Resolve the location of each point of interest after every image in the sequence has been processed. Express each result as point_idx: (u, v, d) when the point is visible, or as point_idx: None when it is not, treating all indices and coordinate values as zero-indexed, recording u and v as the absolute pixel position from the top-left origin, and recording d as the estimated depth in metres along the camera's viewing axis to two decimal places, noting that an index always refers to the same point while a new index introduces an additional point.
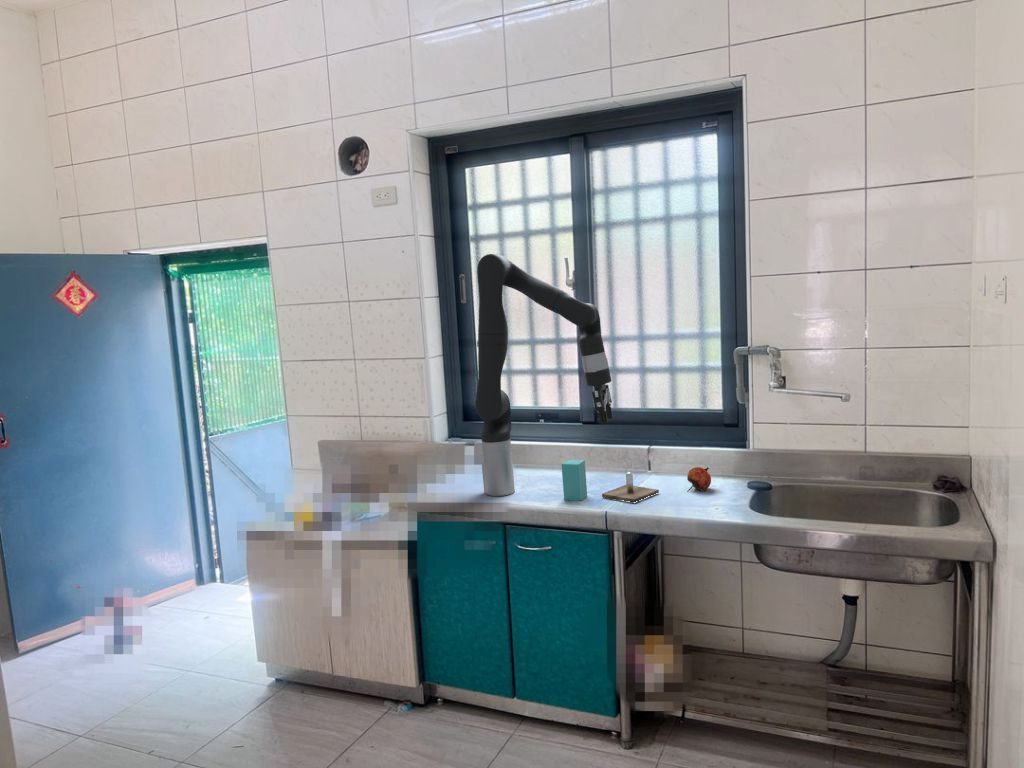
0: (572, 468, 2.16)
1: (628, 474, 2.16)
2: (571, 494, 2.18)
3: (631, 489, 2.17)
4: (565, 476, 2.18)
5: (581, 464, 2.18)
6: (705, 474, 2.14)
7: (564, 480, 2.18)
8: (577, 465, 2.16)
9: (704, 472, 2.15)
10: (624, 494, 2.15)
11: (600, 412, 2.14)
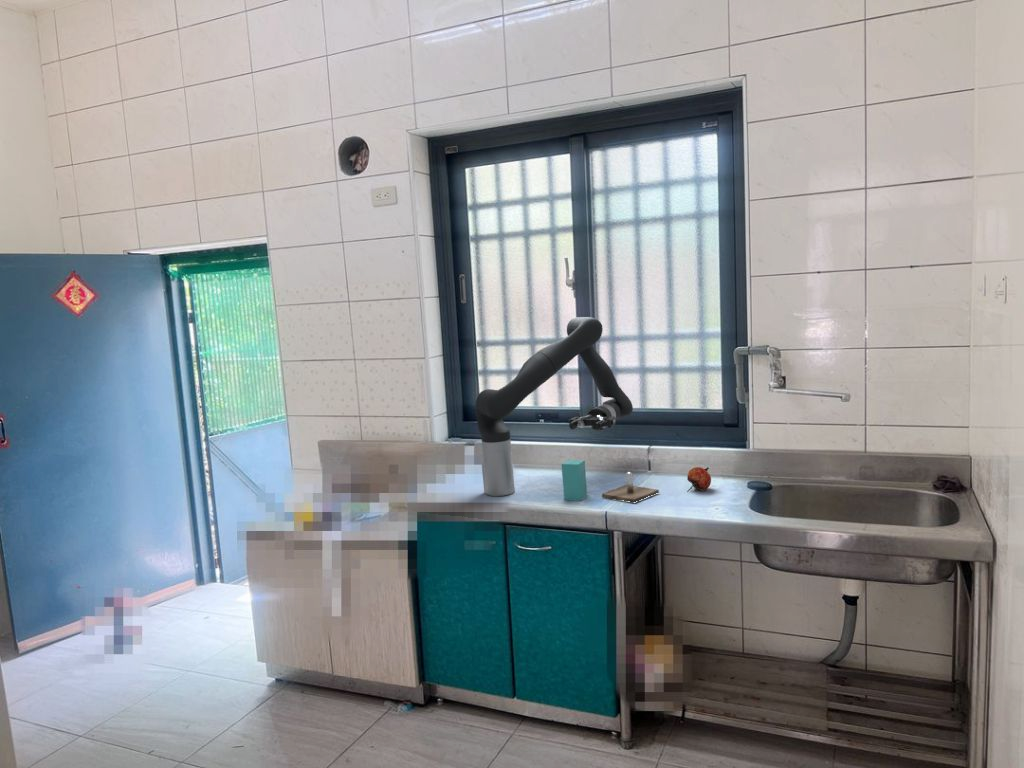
0: (572, 468, 2.16)
1: (628, 474, 2.16)
2: (571, 494, 2.18)
3: (631, 489, 2.17)
4: (565, 476, 2.18)
5: (581, 464, 2.18)
6: (705, 474, 2.14)
7: (564, 480, 2.18)
8: (577, 465, 2.16)
9: (704, 472, 2.15)
10: (624, 494, 2.15)
11: (604, 423, 2.29)
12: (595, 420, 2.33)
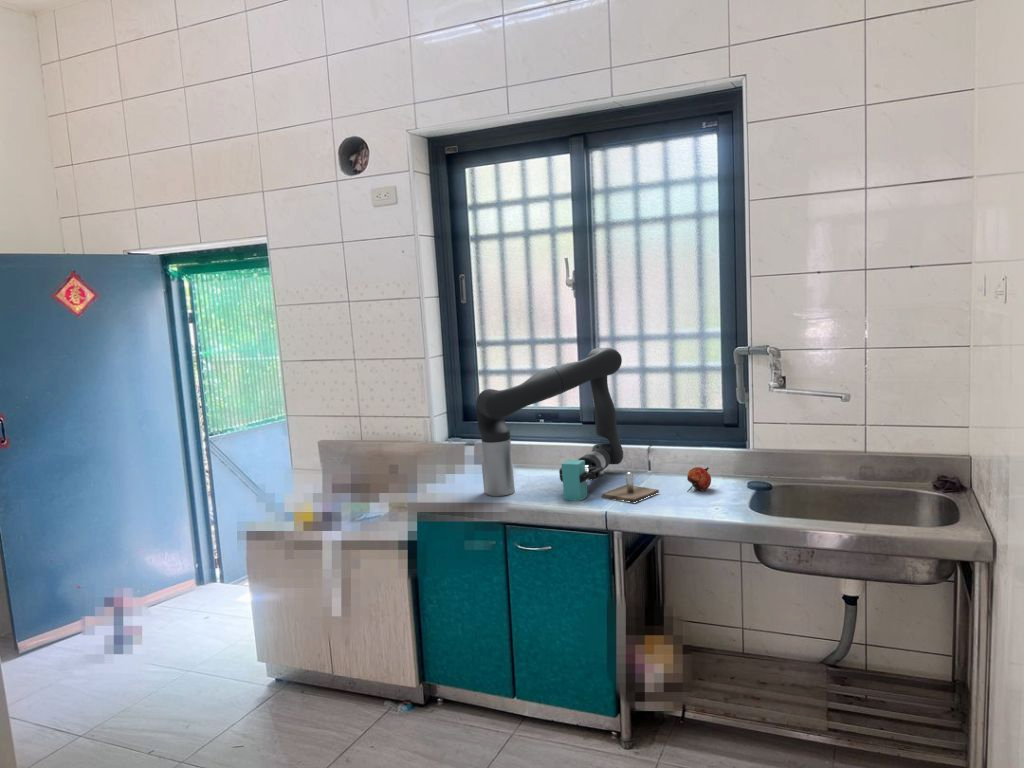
0: (572, 468, 2.16)
1: (628, 474, 2.16)
2: (571, 494, 2.18)
3: (631, 489, 2.17)
4: (565, 476, 2.18)
5: (581, 464, 2.18)
6: (705, 474, 2.14)
7: (564, 480, 2.18)
8: (577, 465, 2.16)
9: (704, 472, 2.15)
10: (624, 494, 2.15)
11: (588, 475, 2.19)
12: None
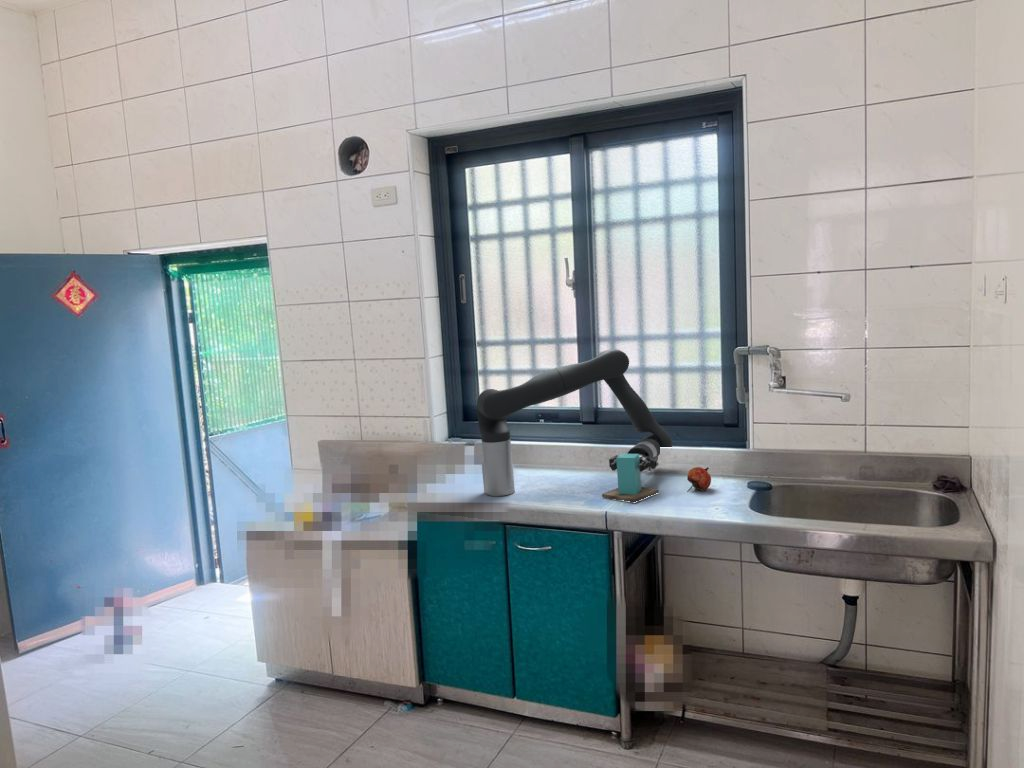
0: (627, 461, 2.14)
1: None
2: (626, 489, 2.15)
3: None
4: (620, 470, 2.15)
5: (636, 458, 2.15)
6: (705, 474, 2.14)
7: (619, 474, 2.15)
8: (633, 459, 2.13)
9: (704, 472, 2.15)
10: (624, 494, 2.15)
11: (647, 464, 2.16)
12: None
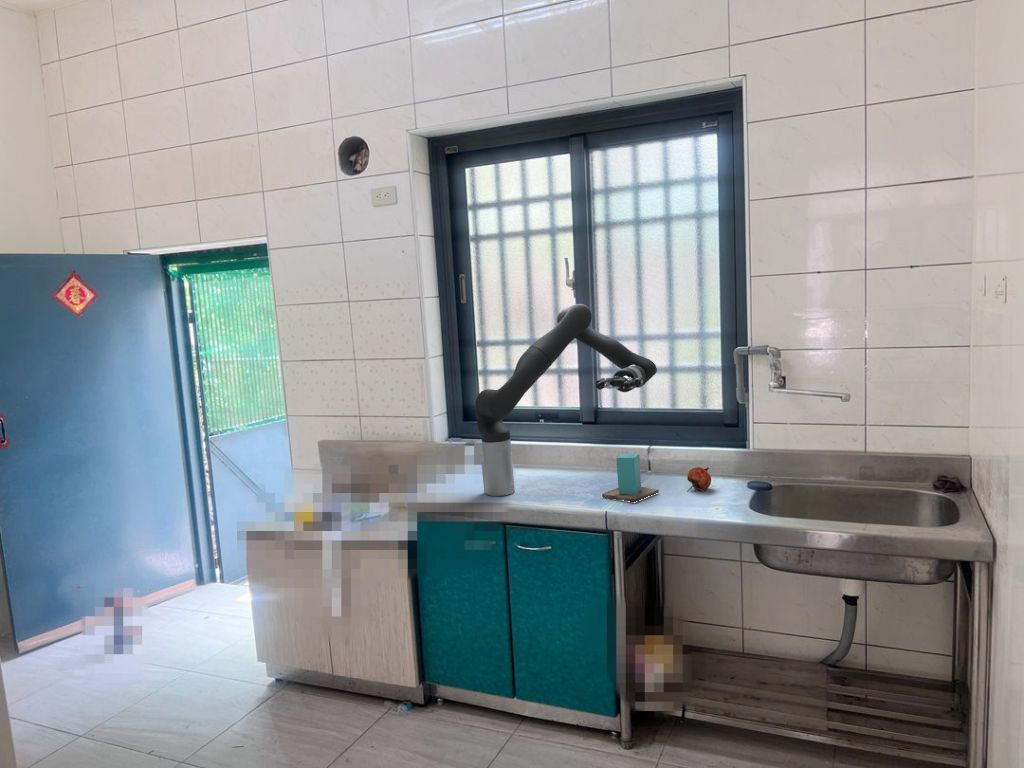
0: (627, 461, 2.14)
1: None
2: (626, 489, 2.15)
3: None
4: (620, 470, 2.15)
5: (636, 458, 2.15)
6: (705, 474, 2.14)
7: (619, 474, 2.15)
8: (633, 459, 2.13)
9: (704, 472, 2.15)
10: (624, 494, 2.15)
11: (632, 383, 2.26)
12: (622, 380, 2.30)
